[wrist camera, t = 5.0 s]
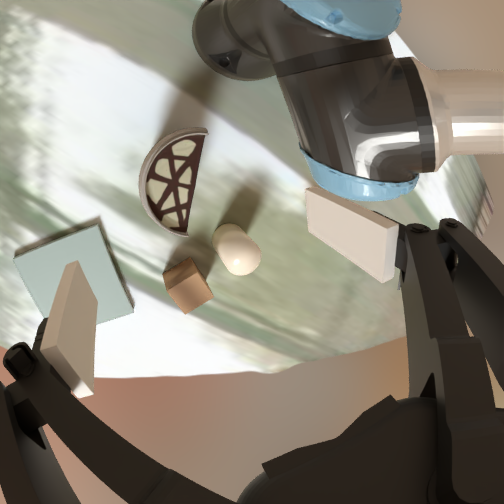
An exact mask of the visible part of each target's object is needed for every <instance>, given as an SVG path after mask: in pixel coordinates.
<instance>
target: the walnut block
mask: <svg viewBox="0 0 504 504" xmlns="http://www.w3.org/2000/svg"><path fill="white" fill-rule="evenodd" d="M163 278H164V282H165V286H166V290H167V292H168V293H169V295H170V296H171V297H172V299H173V300H174V301H175V302H176V304H177V305H178V306H179V307H180V309H181V310H182V311H183V312H184V314H187V313H189V312H190V311H192V310H193V309H195V308H197V307H198V306H200V305H202V304H203V303H205V302H207V301H208V300H210V299H212V298H213V297H214V296H213V294H212V292H211V290H210V288H209V286H208V284H207V282H206V280H205V279H204V277H203V276H202V274H201V273H200V271H199V269H198V268H197V266H196V265H195V263H194V262H193V260H192V259H191V257H189V258H188V259H186V260H184V261H183V262H181V263H180V264H178V265H176V266H175V267H173V268H171V269H170V270H168V271H167V272H165V273H163Z"/></svg>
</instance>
